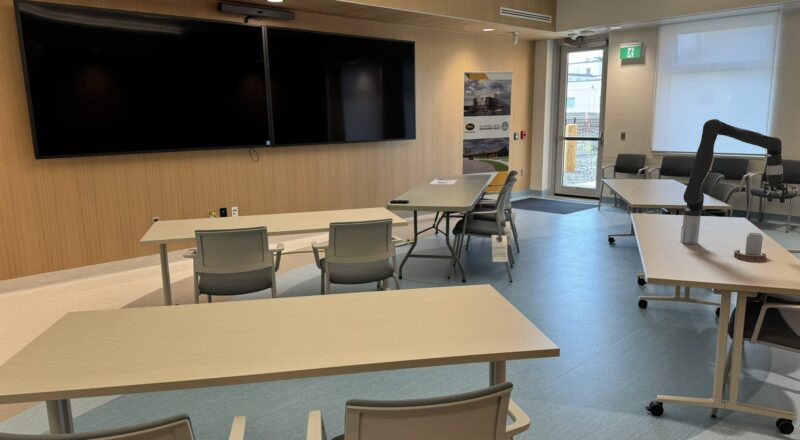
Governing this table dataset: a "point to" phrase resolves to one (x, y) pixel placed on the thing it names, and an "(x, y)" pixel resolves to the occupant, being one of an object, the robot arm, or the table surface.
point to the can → (754, 244)
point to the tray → (749, 256)
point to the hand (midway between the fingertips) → (776, 202)
